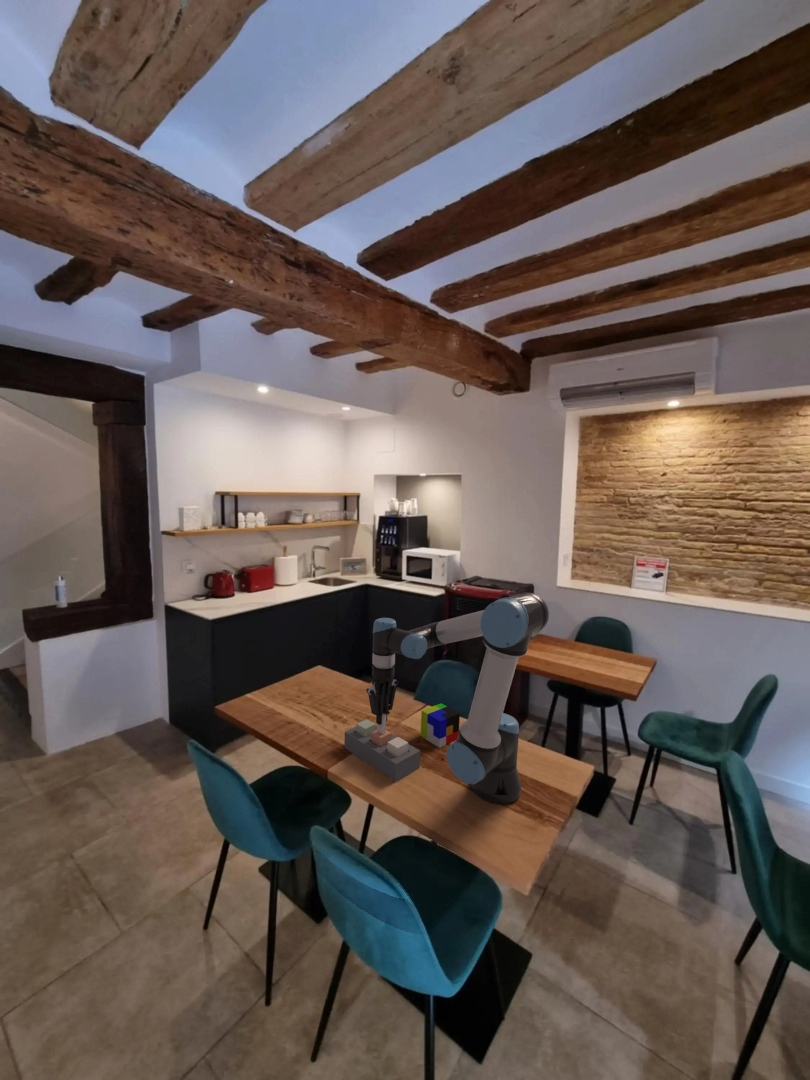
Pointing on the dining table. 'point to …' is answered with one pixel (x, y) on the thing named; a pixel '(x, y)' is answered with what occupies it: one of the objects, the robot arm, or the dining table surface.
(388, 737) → the key terracotta
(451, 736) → the puzzle toy
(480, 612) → the robot arm
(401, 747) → the key ivory
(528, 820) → the dining table surface
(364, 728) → the key sage
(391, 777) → the console
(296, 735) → the dining table surface
